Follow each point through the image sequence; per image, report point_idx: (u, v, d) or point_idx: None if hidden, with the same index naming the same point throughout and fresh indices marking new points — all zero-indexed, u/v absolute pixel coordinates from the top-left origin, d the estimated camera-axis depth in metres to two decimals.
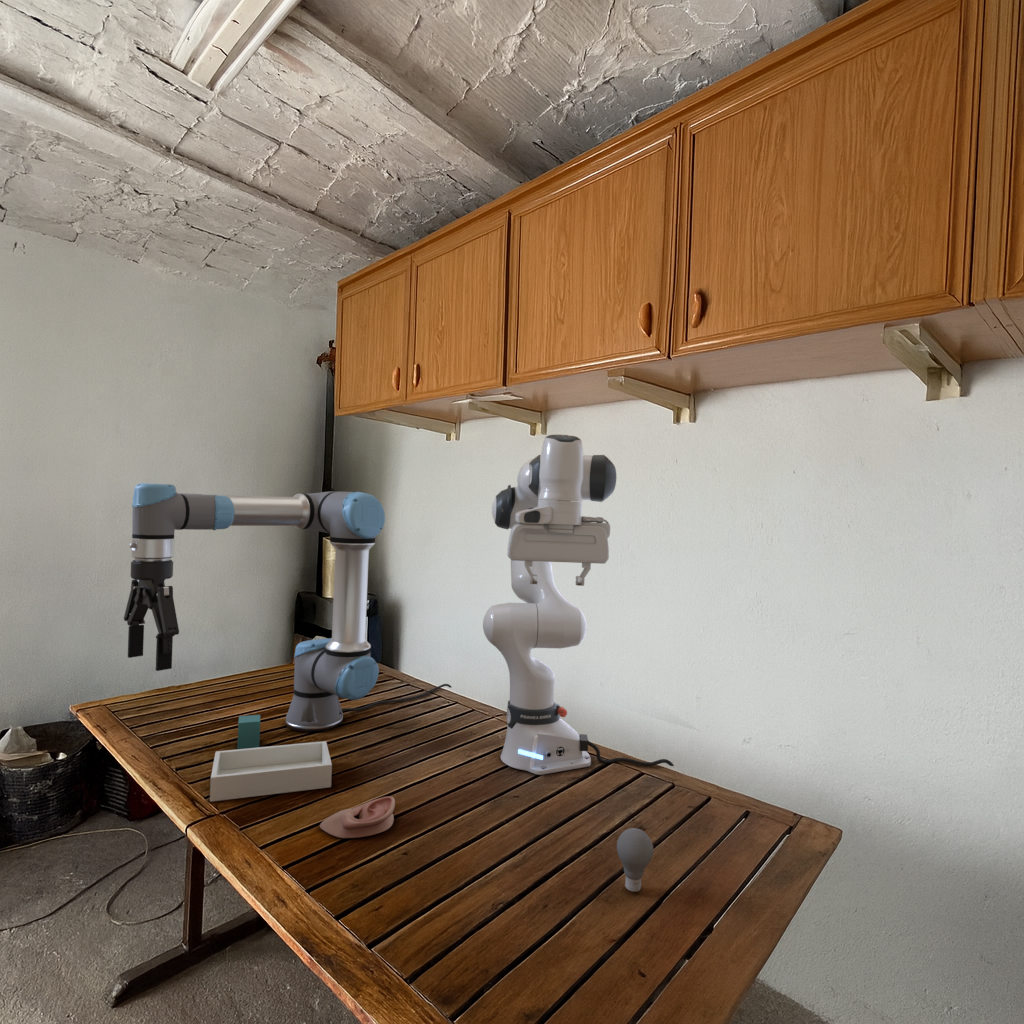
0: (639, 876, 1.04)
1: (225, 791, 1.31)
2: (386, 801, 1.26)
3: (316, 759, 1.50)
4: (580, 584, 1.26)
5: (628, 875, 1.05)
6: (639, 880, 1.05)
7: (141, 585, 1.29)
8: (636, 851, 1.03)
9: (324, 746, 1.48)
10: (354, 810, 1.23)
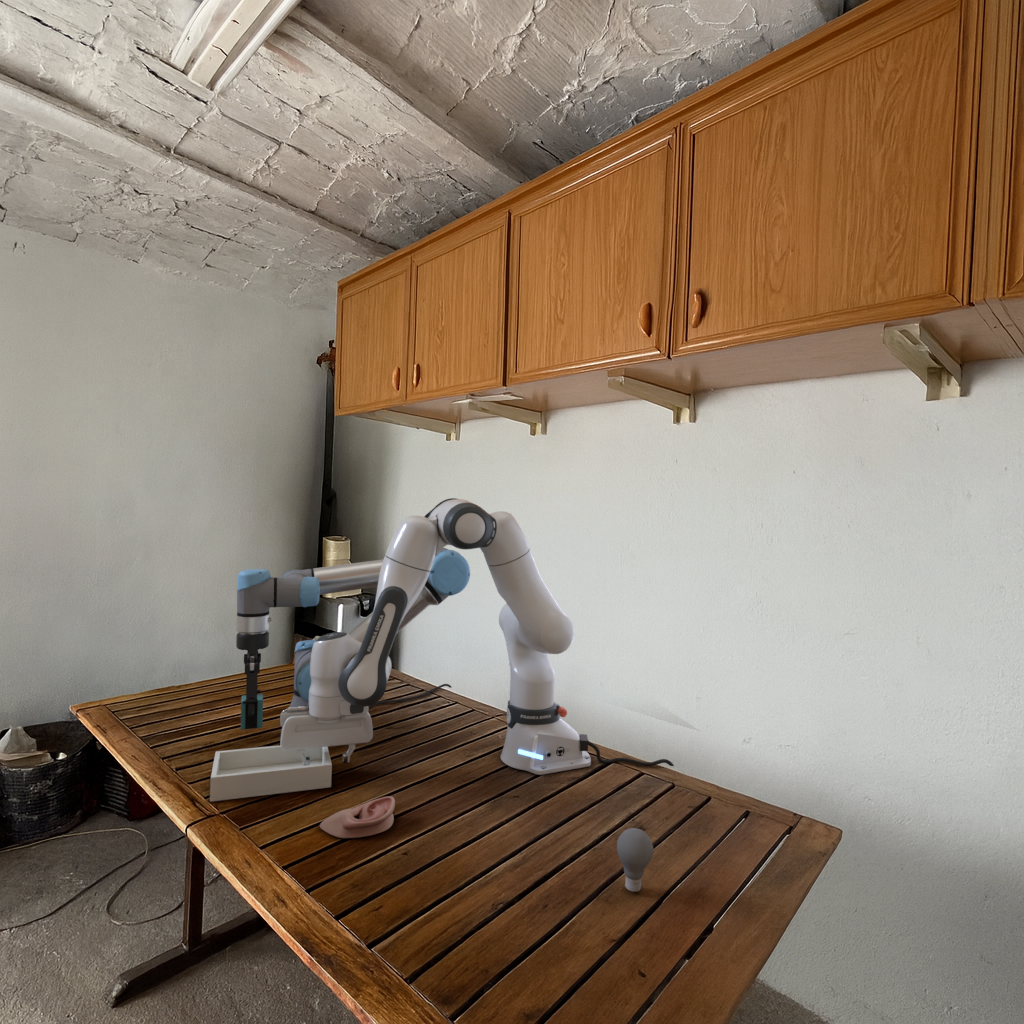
0: (639, 876, 1.04)
1: (225, 791, 1.31)
2: (386, 801, 1.26)
3: (316, 759, 1.50)
4: None
5: (628, 875, 1.05)
6: (639, 880, 1.05)
7: (257, 654, 1.56)
8: (636, 851, 1.03)
9: None
10: (354, 810, 1.23)
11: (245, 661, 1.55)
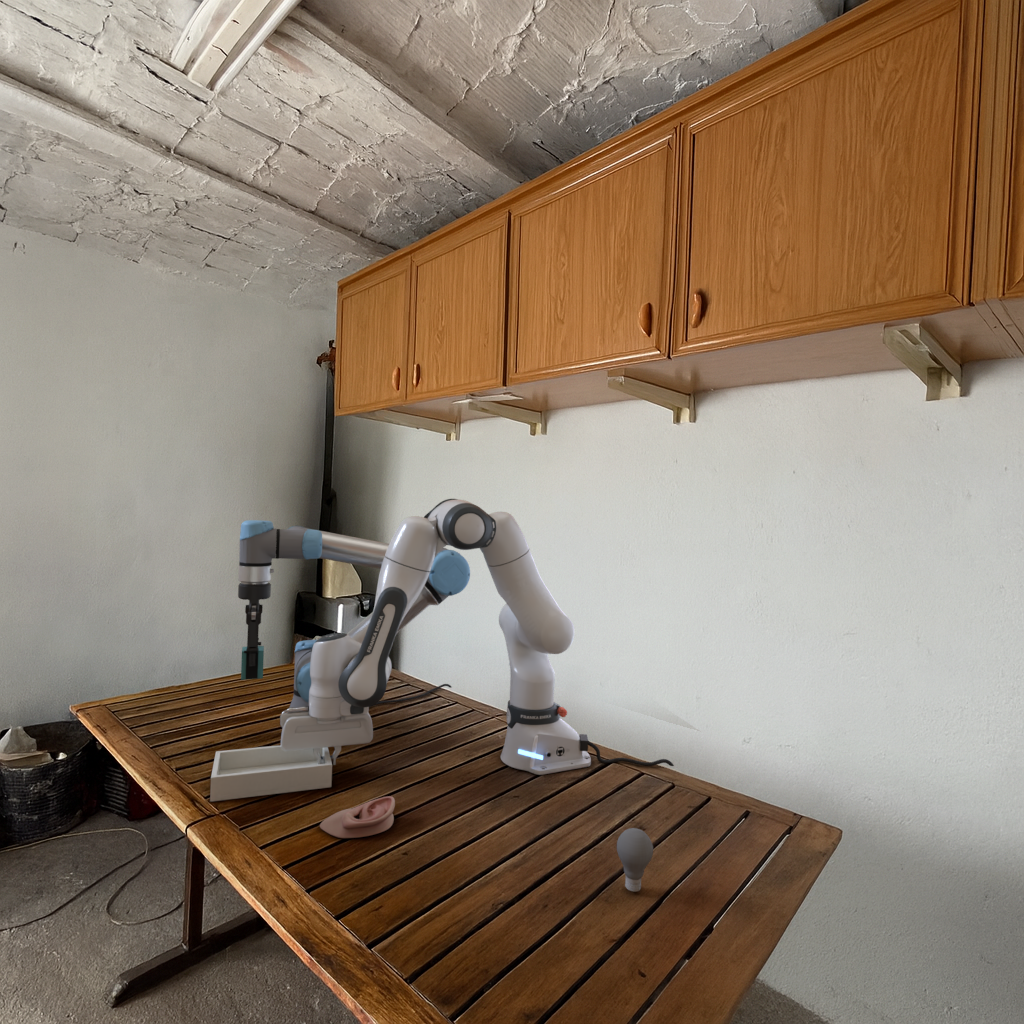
0: (639, 876, 1.04)
1: (225, 791, 1.31)
2: (386, 801, 1.26)
3: (316, 759, 1.50)
4: None
5: (628, 875, 1.05)
6: (639, 880, 1.05)
7: None
8: (636, 851, 1.03)
9: None
10: (354, 810, 1.23)
11: (247, 611, 1.55)
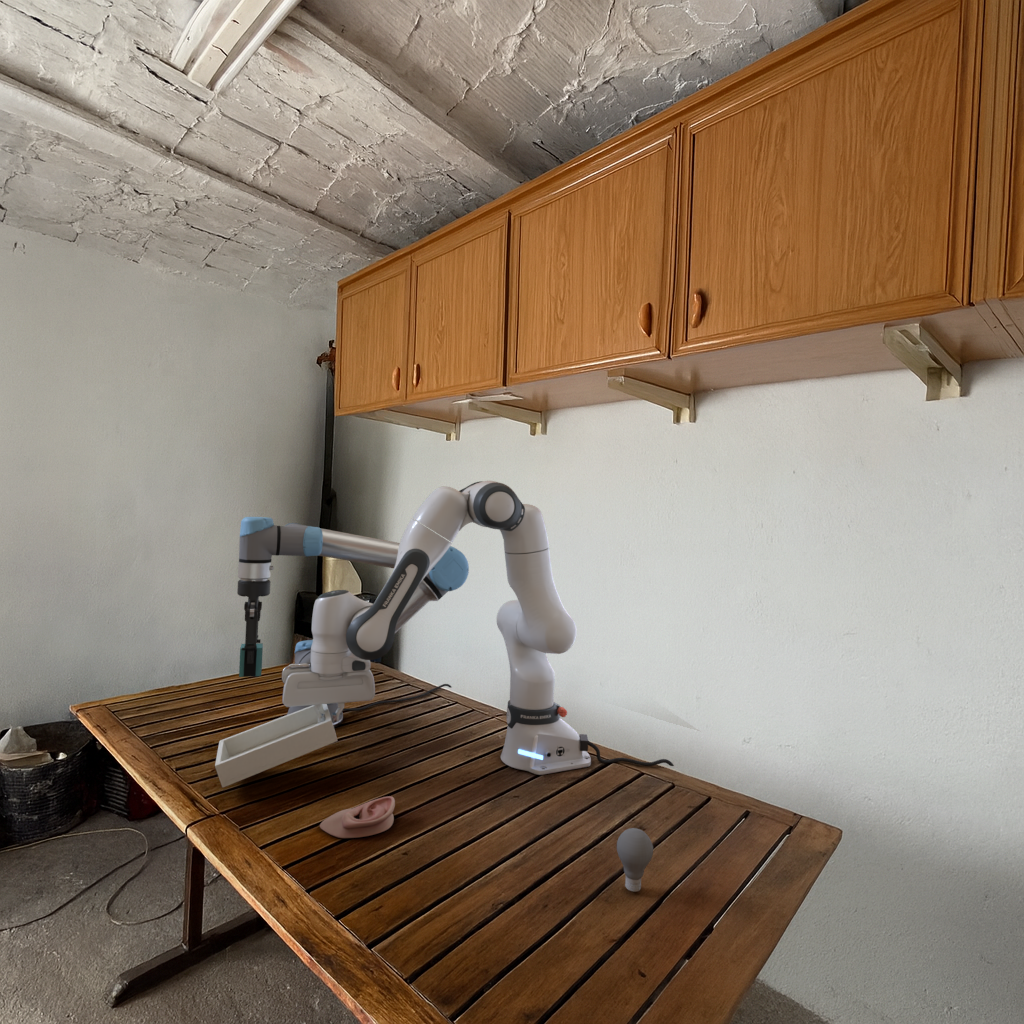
0: (639, 876, 1.04)
1: (234, 774, 1.31)
2: (386, 801, 1.26)
3: None
4: None
5: (628, 875, 1.05)
6: (639, 880, 1.05)
7: None
8: (636, 851, 1.03)
9: (323, 705, 1.48)
10: (354, 810, 1.23)
11: (245, 608, 1.54)
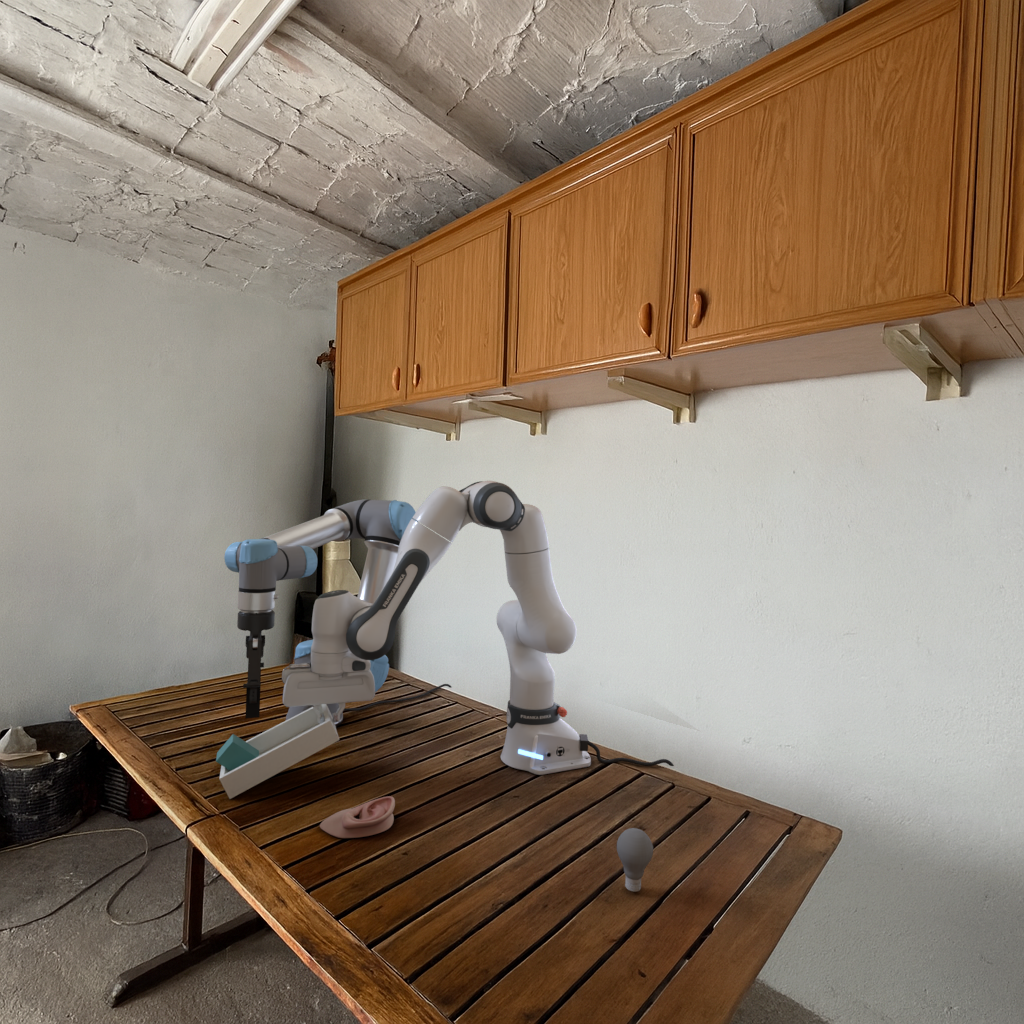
0: (639, 876, 1.04)
1: (239, 784, 1.32)
2: (386, 801, 1.26)
3: None
4: None
5: (628, 875, 1.05)
6: (639, 880, 1.05)
7: (260, 637, 1.37)
8: (636, 851, 1.03)
9: (323, 706, 1.47)
10: (354, 810, 1.23)
11: (247, 643, 1.36)
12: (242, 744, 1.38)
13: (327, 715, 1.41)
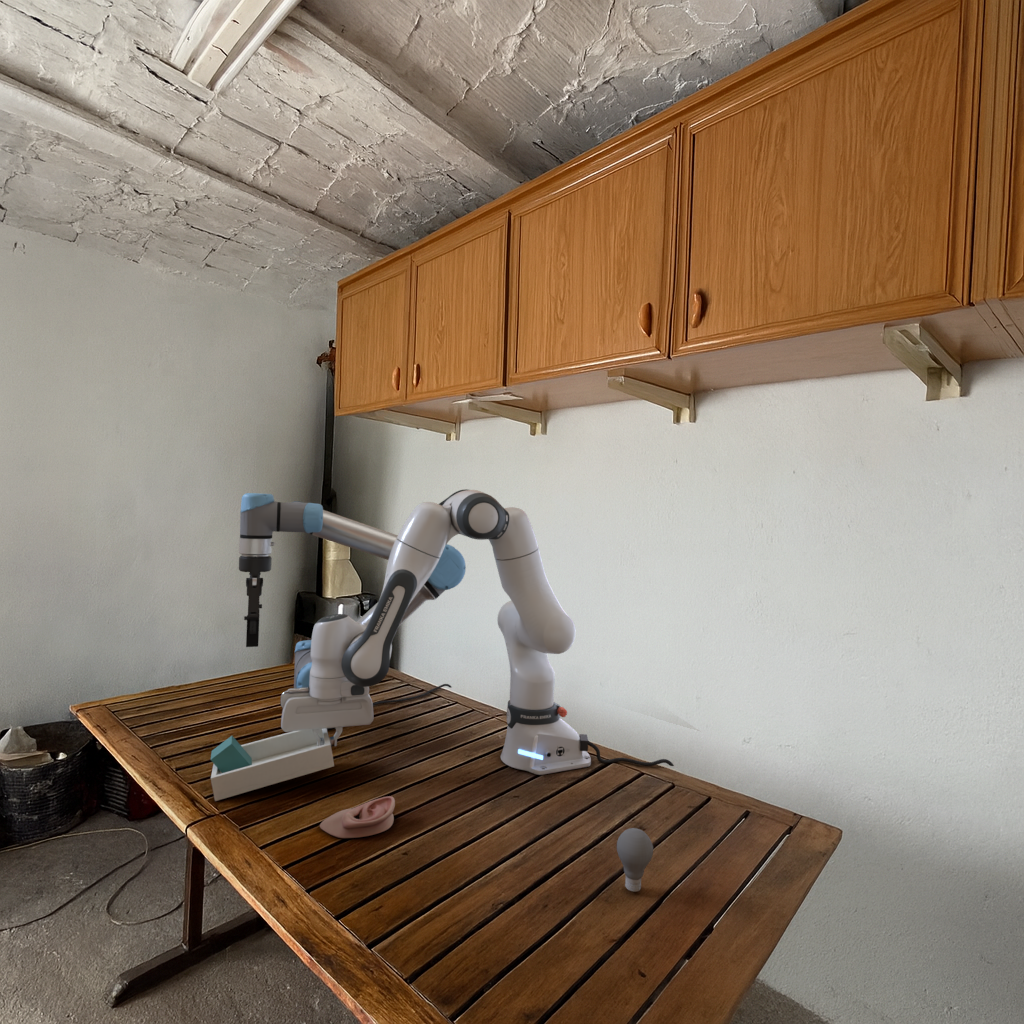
0: (639, 876, 1.04)
1: (228, 788, 1.31)
2: (386, 801, 1.26)
3: None
4: None
5: (628, 875, 1.05)
6: (639, 880, 1.05)
7: None
8: (636, 851, 1.03)
9: None
10: (354, 810, 1.23)
11: (247, 583, 1.55)
12: (239, 748, 1.37)
13: (327, 738, 1.41)
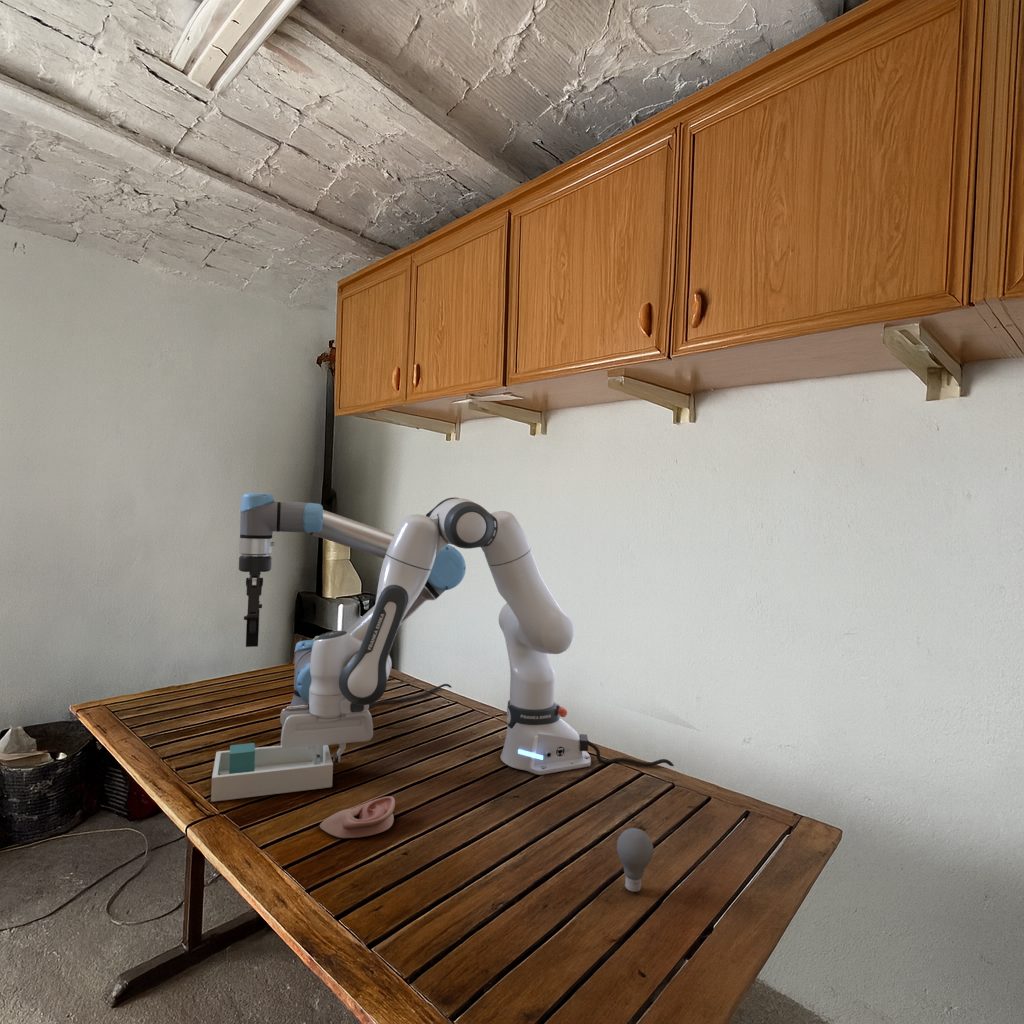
0: (639, 876, 1.04)
1: (226, 791, 1.31)
2: (386, 801, 1.26)
3: None
4: None
5: (628, 875, 1.05)
6: (639, 880, 1.05)
7: None
8: (636, 851, 1.03)
9: (325, 746, 1.48)
10: (354, 810, 1.23)
11: (247, 583, 1.55)
12: None
13: (330, 758, 1.42)
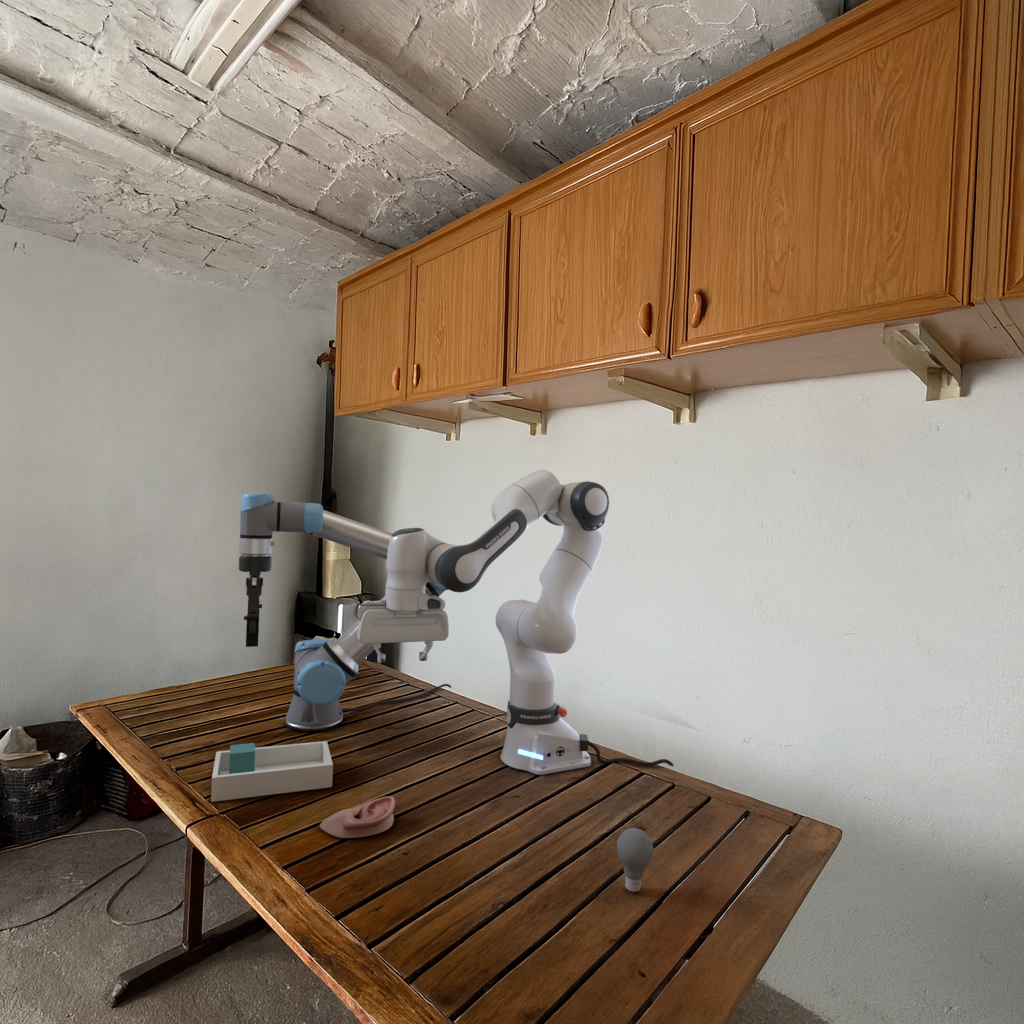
0: (639, 876, 1.04)
1: (226, 791, 1.31)
2: (386, 801, 1.26)
3: (317, 759, 1.50)
4: None
5: (628, 875, 1.05)
6: (639, 880, 1.05)
7: None
8: (636, 851, 1.03)
9: (325, 746, 1.48)
10: (354, 810, 1.23)
11: (247, 583, 1.55)
12: None
13: (330, 758, 1.42)
